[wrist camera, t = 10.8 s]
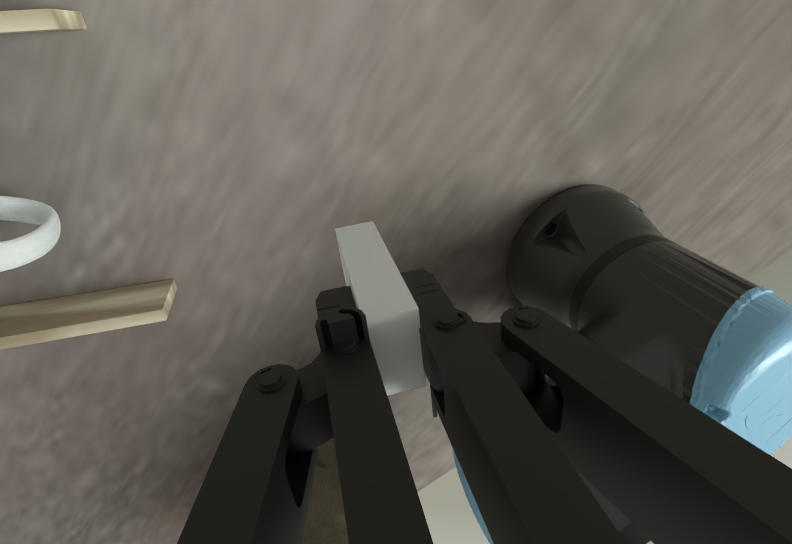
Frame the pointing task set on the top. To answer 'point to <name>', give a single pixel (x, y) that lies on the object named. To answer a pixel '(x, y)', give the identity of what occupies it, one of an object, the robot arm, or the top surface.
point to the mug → (33, 243)
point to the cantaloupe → (326, 502)
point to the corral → (88, 308)
